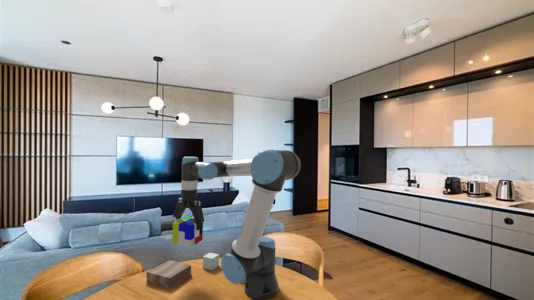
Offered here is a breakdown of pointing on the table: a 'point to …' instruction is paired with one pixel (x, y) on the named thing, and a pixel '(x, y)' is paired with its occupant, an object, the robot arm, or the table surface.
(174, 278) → the taupe block
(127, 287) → the table surface
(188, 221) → the puzzle toy
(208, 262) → the sage block
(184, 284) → the table surface
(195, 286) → the table surface
